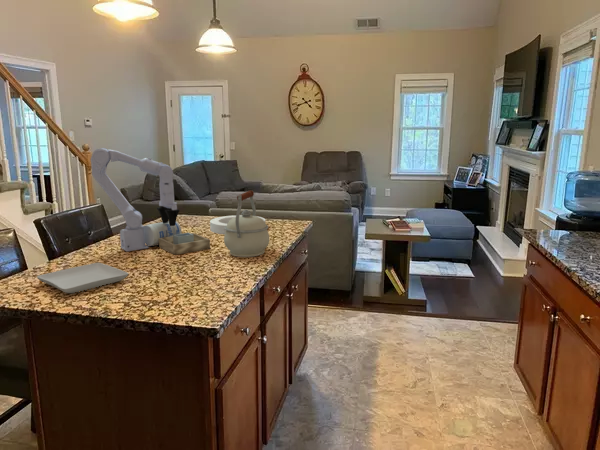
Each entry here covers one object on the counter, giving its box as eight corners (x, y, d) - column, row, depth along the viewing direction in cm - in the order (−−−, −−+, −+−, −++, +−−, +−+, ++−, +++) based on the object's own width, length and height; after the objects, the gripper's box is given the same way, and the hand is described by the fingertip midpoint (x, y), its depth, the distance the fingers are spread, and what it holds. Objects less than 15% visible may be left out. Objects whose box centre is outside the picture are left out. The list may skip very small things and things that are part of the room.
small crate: (178, 248, 186) (177, 237, 185) (173, 246, 190) (172, 234, 189) (194, 245, 190) (193, 234, 189) (188, 243, 194) (188, 232, 193)
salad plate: (99, 269, 161) (98, 260, 161) (131, 282, 148) (130, 272, 147) (36, 285, 145) (34, 275, 144) (65, 300, 132) (64, 289, 131)
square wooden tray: (174, 254, 179) (173, 245, 178) (159, 247, 191) (158, 238, 191) (210, 248, 189) (209, 239, 188) (193, 241, 201) (193, 232, 200)
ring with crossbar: (231, 222, 247) (230, 213, 246) (275, 226, 235) (275, 217, 234) (199, 232, 222) (198, 222, 221) (246, 237, 210) (246, 227, 209)
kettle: (261, 261, 170) (259, 196, 165) (216, 258, 174) (213, 195, 169) (277, 245, 194) (276, 188, 189) (237, 243, 198) (235, 187, 192)
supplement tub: (185, 234, 199) (157, 241, 188) (175, 243, 205) (147, 250, 194) (176, 215, 201) (148, 221, 189) (166, 225, 207) (138, 231, 195)
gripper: (183, 194, 187) (184, 225, 190) (169, 190, 198) (170, 220, 201) (166, 195, 182) (168, 227, 185) (153, 192, 193) (155, 222, 196)
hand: (168, 224), depth 193 cm, fingers open, 7 cm apart
